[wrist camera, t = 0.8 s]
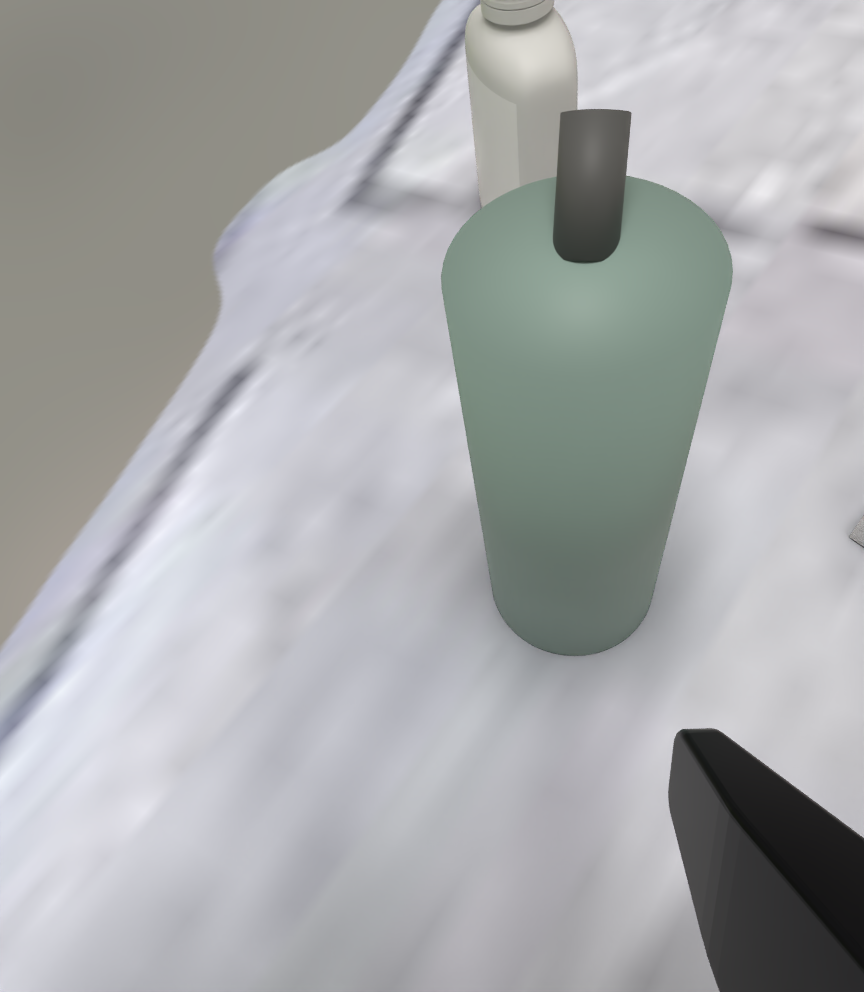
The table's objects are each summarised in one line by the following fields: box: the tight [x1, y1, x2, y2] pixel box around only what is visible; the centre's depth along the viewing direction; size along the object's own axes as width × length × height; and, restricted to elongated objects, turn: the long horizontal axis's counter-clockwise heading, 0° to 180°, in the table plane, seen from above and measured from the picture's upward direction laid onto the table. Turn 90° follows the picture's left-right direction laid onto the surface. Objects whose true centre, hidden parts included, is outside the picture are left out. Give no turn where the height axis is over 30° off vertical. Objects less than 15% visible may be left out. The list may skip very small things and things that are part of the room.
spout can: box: [441, 109, 733, 656], centre depth 19 cm, size 5×5×15 cm
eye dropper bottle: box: [465, 0, 578, 208], centre depth 29 cm, size 4×6×12 cm
